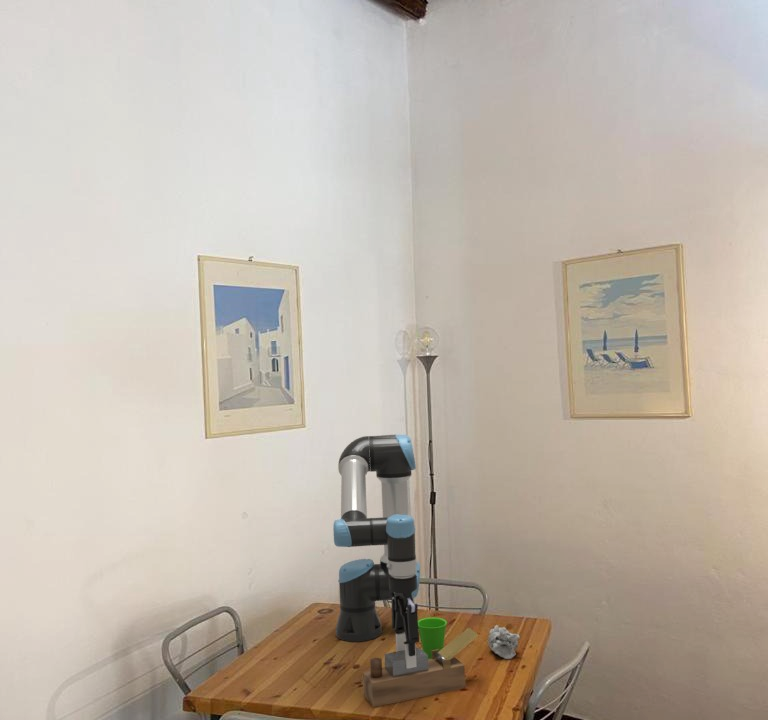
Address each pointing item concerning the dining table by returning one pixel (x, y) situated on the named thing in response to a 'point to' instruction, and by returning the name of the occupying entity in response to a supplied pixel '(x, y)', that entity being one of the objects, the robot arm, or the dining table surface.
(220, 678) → the dining table surface
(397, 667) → the lever cap
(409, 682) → the plane body
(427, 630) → the cup
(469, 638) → the lever
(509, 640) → the figurine
